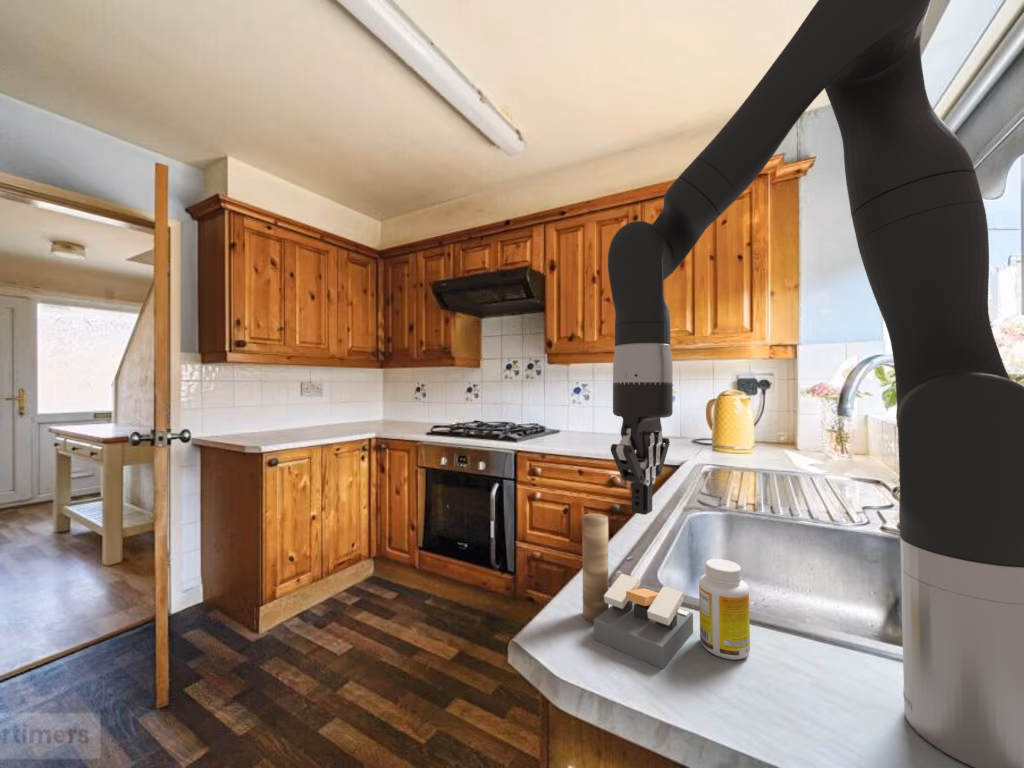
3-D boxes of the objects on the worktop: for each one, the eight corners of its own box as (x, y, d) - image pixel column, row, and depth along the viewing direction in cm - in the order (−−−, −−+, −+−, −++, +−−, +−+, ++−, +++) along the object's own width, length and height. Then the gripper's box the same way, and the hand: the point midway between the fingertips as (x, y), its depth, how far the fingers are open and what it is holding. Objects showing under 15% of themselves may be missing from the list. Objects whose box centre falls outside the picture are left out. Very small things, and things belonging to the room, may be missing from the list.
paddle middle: (661, 605, 57) (662, 594, 57) (644, 609, 53) (645, 597, 53) (642, 599, 58) (643, 588, 59) (625, 603, 55) (626, 591, 55)
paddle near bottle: (684, 602, 55) (683, 592, 54) (669, 628, 51) (668, 618, 51) (664, 595, 56) (663, 586, 56) (648, 621, 53) (647, 611, 52)
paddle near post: (640, 588, 59) (639, 578, 58) (623, 612, 55) (621, 602, 55) (623, 582, 60) (621, 573, 60) (605, 605, 57) (603, 595, 56)
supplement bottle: (757, 649, 52) (756, 565, 53) (738, 668, 49) (736, 578, 49) (712, 630, 57) (711, 552, 57) (691, 646, 53) (690, 563, 53)
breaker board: (693, 632, 56) (692, 602, 56) (662, 669, 49) (662, 634, 49) (629, 609, 62) (629, 582, 62) (593, 639, 55) (593, 608, 55)
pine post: (613, 616, 60) (612, 516, 61) (600, 626, 58) (599, 522, 58) (591, 607, 63) (590, 512, 63) (577, 617, 60) (577, 517, 60)
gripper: (647, 379, 49) (647, 531, 49) (689, 381, 59) (689, 507, 58) (590, 379, 54) (590, 517, 54) (637, 381, 64) (637, 498, 63)
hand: (642, 512), depth 56 cm, fingers closed
